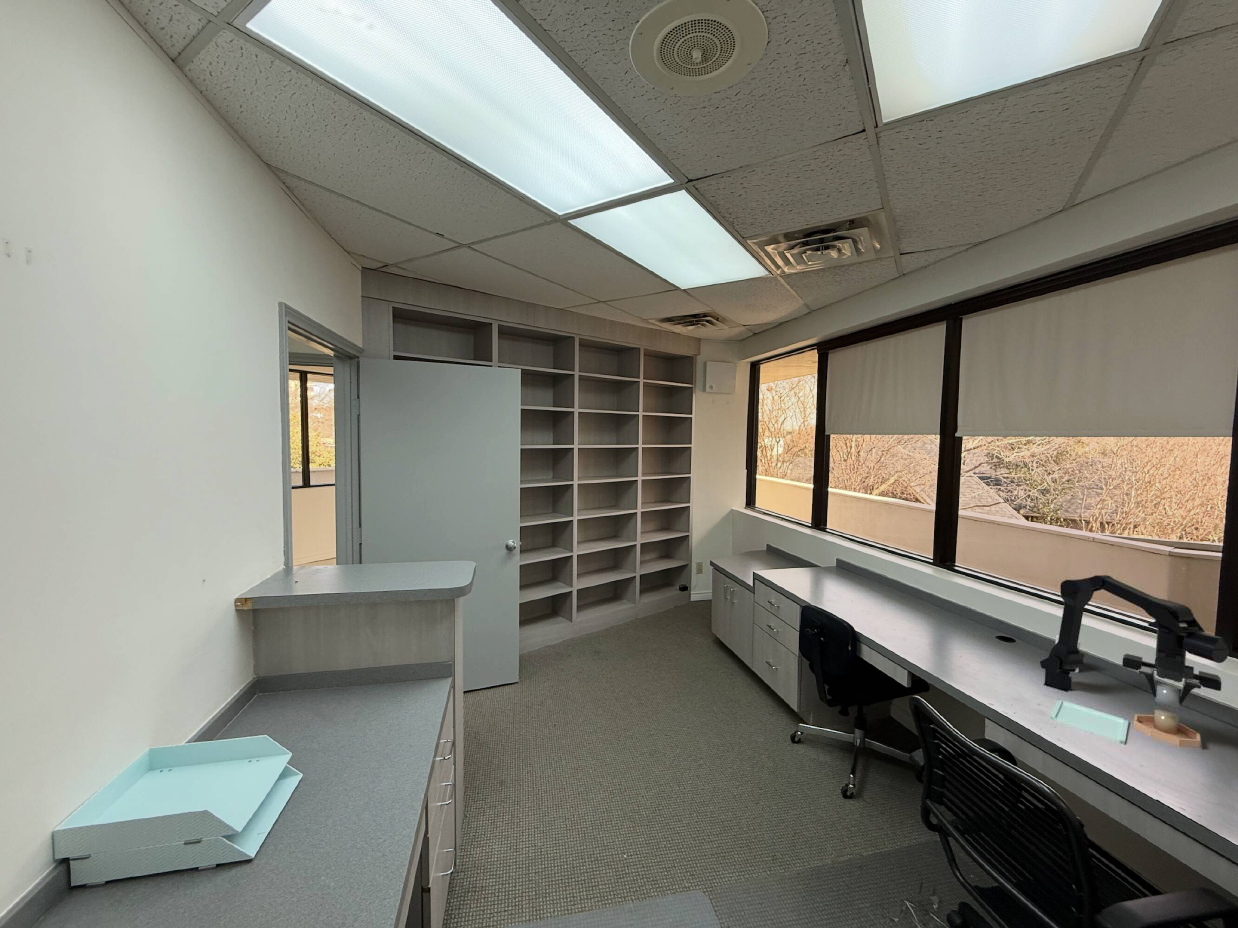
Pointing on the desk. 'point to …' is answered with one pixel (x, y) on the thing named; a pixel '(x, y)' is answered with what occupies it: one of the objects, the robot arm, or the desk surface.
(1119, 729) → the parts tray
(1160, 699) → the grey rounded lump
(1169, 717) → the river pebble
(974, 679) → the desk surface
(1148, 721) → the dish
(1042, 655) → the desk surface
